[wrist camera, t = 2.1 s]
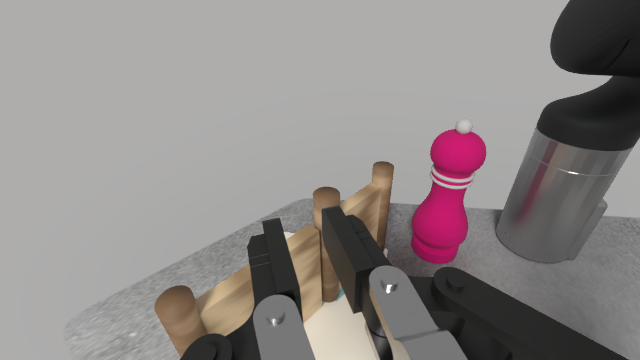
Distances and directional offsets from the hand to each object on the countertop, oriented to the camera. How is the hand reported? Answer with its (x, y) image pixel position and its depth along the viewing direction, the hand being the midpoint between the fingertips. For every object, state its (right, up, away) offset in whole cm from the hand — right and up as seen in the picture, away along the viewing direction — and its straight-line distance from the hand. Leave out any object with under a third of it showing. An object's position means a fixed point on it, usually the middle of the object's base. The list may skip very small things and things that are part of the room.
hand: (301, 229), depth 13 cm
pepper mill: (+18, -8, +31) cm, 37 cm away
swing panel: (-5, -16, +19) cm, 25 cm away
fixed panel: (+5, -10, +27) cm, 29 cm away
